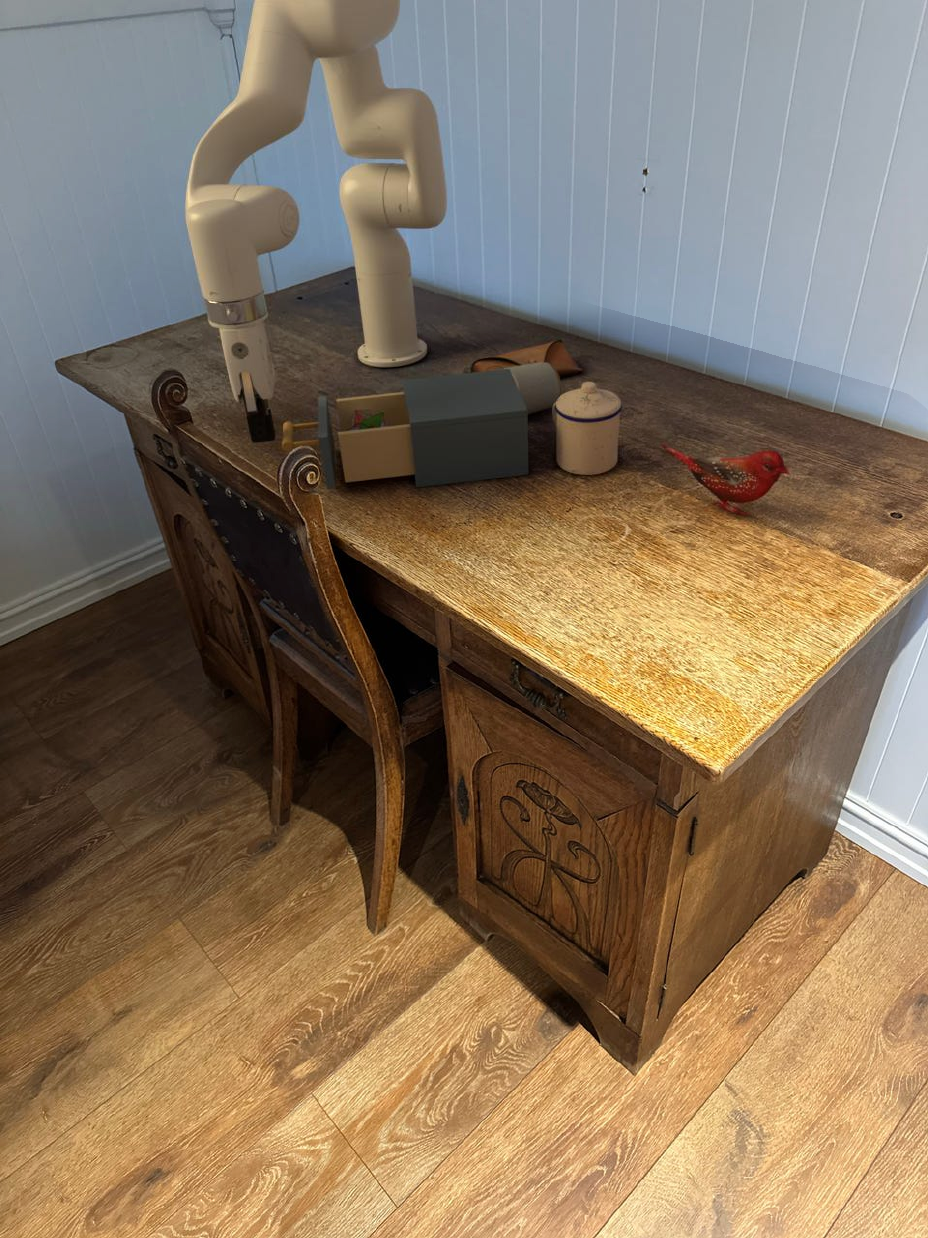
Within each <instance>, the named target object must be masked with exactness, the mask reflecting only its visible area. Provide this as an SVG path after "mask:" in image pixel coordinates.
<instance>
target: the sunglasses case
mask: <svg viewBox="0 0 928 1238" xmlns="http://www.w3.org/2000/svg"><path fill="white" fill-rule="evenodd" d="M567 349H568V348H566V346H565V345H564V343H563V340H562V339H556V340H553V341H550V342H548V343H544V344H539V345H534V346H530V347H526V348H522V349H517V350H513V351H510V352H509V351H508V352H506V353H501V354H499V355H494V356H485V357H480V358H478V359H476V360H475V361H473V362H472V364H471V366H470V373H473V372H483V371H492V370H501V369H504V368H509V367H515V366H521V365H527V364H532V363H537V362H546V363H549V364H551V365H552V366H553V367H554V368H555V369H556V371H557V373H558V375H559V378H560V379H561V378H565V377H569V376H571V375H574V374H577V373H580V372H583V371H584V369H583V368H582V367H579V365H578V364H577V362H576V361H575V359H574V358H573V357H572V355H571V354H570V353H569V351H568V350H567Z"/></svg>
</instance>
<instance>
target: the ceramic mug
mask: <svg viewBox="0 0 928 1238" xmlns="http://www.w3.org/2000/svg"><path fill="white" fill-rule="evenodd" d="M504 369H510V371H511V373H512V375H513V378H514V380H515V382H516V385H517V387H518V389H519V392H520V394H521V396H522V399H523V401H524V403H525V406H526V408H527V411H528V415H532V414H534V413H538V412H541V411H542V412H543V411H545V410H548V409H551V408H553V405H554V403H555V402H556V401H557V400H558V398H559V397H560V396H561V395H562V383H561V378H559V375H558V373H557V371H556V369H555V368H554V367H553V366H552V365H551V364H549V363H546V362H537V363H532V364H527V365H521V366H515V367H509V368H504Z"/></svg>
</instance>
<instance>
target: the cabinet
mask: <svg viewBox="0 0 928 1238" xmlns="http://www.w3.org/2000/svg"><path fill="white" fill-rule="evenodd" d="M401 383H402V390H403V391H402V392H404V395H405V401H406V406H407V412H408V417H409V423H410V430H411V440H412V449H413V459H414V469H415V475H414V480H415V486H416V488H424V487H432V486H433V487H434V486H442V485H450V484H458V483H467V482H468V483H469V482H475V481H486V480H493V479H501V478H503V479H504V478H511V477H519V476H528V475H529V426H528V425H529V424H528V423H529V420H528V417H529V416H528V415H529V414H528V411H527V408H526V406H525V403H524V401H523V399H522V396H521V394H520V392H519V389H518V387H517V385H516V382H515V380H514V378H513V375H512V373H511V371H510V369H501V370H492V371H483V372H473V373H471V372H465V373H456V374H447V375H446V374H445V375H437V376H428V377H419V378H410V379H409V378H408V379H402V380H401Z"/></svg>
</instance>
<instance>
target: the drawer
mask: <svg viewBox="0 0 928 1238" xmlns="http://www.w3.org/2000/svg"><path fill="white" fill-rule="evenodd" d="M317 402H318V403H317V406H318V407H317V421H314V422H313V421H312V422H303V423H296V424H294V423H293V422H292V421H286V422H284V423H283V425H282V437H281V449H282V451H284V452H286V453H290V452H291V451H293V449H294V448H300V447H299V446H303V447H311V446H318V445H319V450H320V451H319V452H320V456H321V457H320V458H321V461H322V468H323V473H324V480H325V485H326V490H335V489H337V483H336V479H337V477H336V449H335V440H334V434H333V428H332V421H331V415H330V409H329V405H328V403H329V402H328V396H327V395H326V396H318V398H317ZM336 405H337V407H336V408H337V412H338V418H339V425H340V426H339V427H340V431H337V438H338V443H339V450H340V456H341V462H342V469H343V475H344V482H345V483H352V482H353V483H354V482H361V481H369V480H379V479H387V478H397V477H403V476H415V469H414V459H413V449H412V440H411V430H410V423H409V417H408V412H407V406H406V401H405V395H404V392H403V391H399V392H390V393H389V392H388V393H381V394H372V395H371V394H369V395H362V396H351V397H345V398H344V397H343V398H336ZM355 409H356V410H368V411H369V412H370V413H372V414H373V415H377V414H379V413H381V412H383V411H384V417H382V422H383V423H384V422H385V425H386V426H387V427H379V428H370V429H361V430H352V428H351V427H352V416H353V413H354V412H355ZM378 411H380V412H378ZM350 418H351V419H350ZM387 419H388V420H387ZM347 423H348V424H347ZM314 428H317V430H318V432H317V438H318V439H317V438H316V439H310V440H309V439H308V440H307V439H306V440H298V441H294V437H295V436H294V435H295V431H297V430H298V431H299V430H305V429H314ZM350 428H351V429H350ZM348 429H349V430H348ZM343 430H344V431H343ZM347 430H348V431H347ZM350 430H352V431H350Z"/></svg>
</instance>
